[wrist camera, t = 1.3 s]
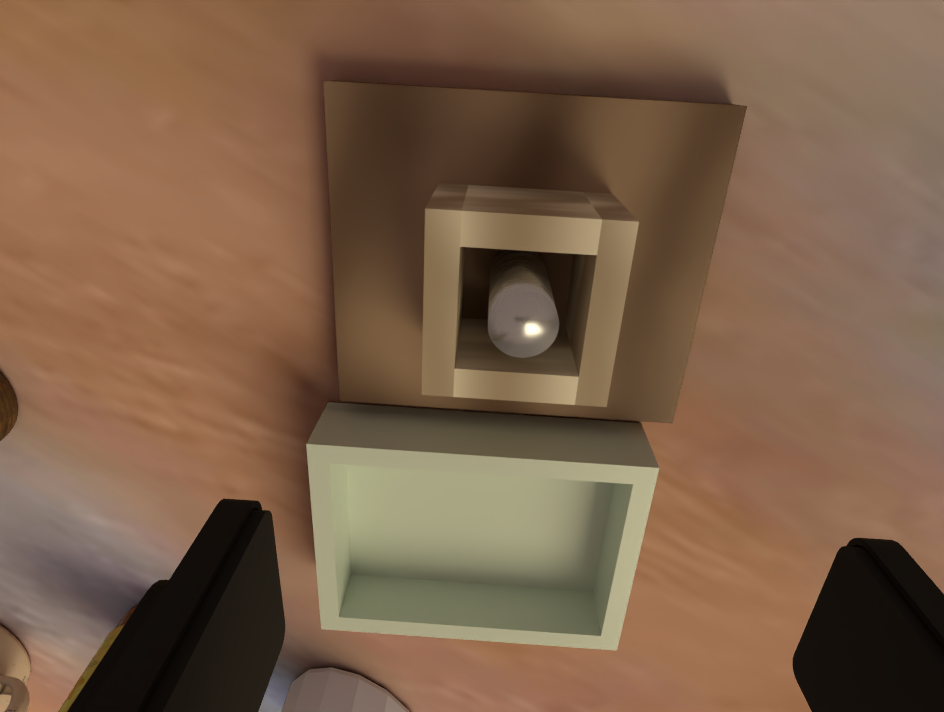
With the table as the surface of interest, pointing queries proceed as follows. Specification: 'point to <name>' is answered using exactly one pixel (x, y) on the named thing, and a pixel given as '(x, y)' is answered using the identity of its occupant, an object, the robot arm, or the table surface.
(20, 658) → the teacup with lid
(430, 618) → the tray
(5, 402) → the utensil holder
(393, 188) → the stake board
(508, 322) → the cylinder
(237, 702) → the robot arm
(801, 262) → the table surface
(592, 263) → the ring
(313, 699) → the soap bottle
